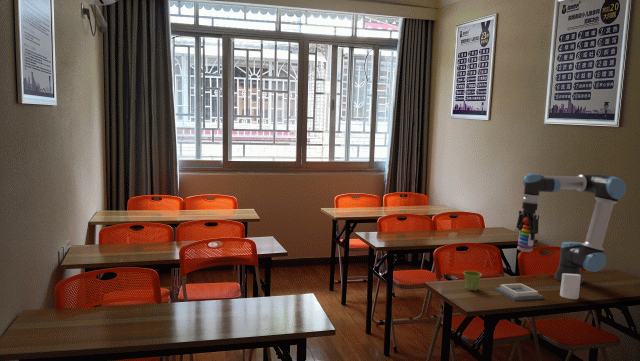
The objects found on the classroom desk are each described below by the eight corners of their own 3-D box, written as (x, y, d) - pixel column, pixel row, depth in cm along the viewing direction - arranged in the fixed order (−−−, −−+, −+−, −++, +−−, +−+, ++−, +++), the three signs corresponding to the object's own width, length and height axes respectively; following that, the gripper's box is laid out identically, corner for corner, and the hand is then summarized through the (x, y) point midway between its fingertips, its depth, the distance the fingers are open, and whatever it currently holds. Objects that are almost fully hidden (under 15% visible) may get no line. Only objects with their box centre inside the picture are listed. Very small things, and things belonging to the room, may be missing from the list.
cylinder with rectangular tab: (573, 293, 279) (576, 272, 277) (581, 299, 270) (584, 277, 268) (556, 292, 279) (559, 271, 278) (564, 298, 270) (566, 276, 269)
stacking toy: (534, 252, 274) (539, 218, 272) (519, 251, 274) (523, 217, 272) (529, 249, 282) (533, 215, 279) (514, 248, 282) (518, 214, 280)
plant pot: (474, 293, 271) (475, 277, 270) (458, 288, 278) (460, 272, 277) (483, 289, 278) (485, 274, 276) (468, 285, 285) (469, 269, 283)
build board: (522, 288, 283) (522, 282, 283) (542, 298, 268) (543, 292, 268) (494, 290, 278) (495, 283, 277) (513, 300, 263) (514, 294, 262)
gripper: (512, 198, 283) (507, 239, 286) (537, 205, 264) (532, 248, 267) (524, 199, 286) (519, 239, 288) (549, 205, 266) (544, 248, 269)
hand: (525, 243), depth 277 cm, fingers closed on stacking toy, 7 cm apart
